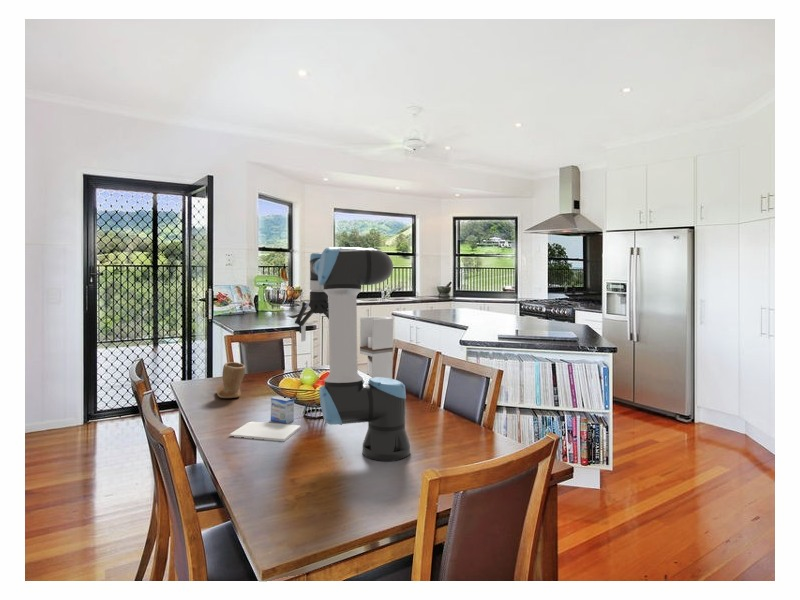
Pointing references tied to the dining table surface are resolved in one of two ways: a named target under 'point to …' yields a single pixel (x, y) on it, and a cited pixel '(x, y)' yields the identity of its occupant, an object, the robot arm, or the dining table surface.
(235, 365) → the tan boot
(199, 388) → the dining table surface
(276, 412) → the medicine box
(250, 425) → the cutting board
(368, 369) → the display case
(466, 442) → the dining table surface
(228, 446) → the dining table surface
